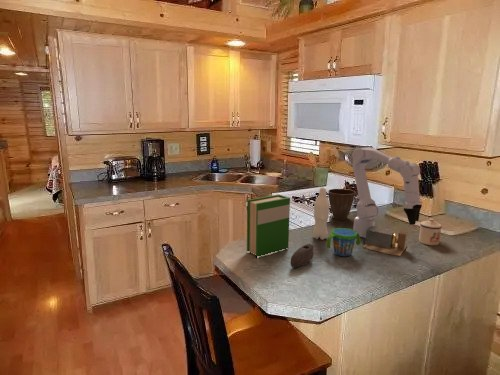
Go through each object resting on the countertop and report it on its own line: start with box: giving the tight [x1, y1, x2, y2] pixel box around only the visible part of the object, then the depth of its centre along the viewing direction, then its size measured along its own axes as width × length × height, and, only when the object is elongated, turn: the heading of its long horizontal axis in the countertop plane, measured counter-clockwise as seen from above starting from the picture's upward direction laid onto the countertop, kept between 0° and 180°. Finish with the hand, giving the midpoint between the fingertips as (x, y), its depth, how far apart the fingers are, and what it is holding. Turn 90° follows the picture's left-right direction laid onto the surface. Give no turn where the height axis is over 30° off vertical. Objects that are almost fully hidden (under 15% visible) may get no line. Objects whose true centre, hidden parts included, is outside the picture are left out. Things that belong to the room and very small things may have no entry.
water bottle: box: [312, 187, 330, 241], centre depth 167 cm, size 7×7×25 cm
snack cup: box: [326, 227, 361, 257], centre depth 150 cm, size 16×10×10 cm
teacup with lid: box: [418, 218, 443, 246], centre depth 164 cm, size 12×9×12 cm
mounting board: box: [362, 244, 408, 257], centre depth 159 cm, size 16×14×1 cm
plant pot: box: [327, 188, 356, 221], centre depth 199 cm, size 15×15×16 cm
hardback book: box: [246, 194, 291, 257], centre depth 150 cm, size 18×7×24 cm, turn 126°
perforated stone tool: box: [290, 243, 315, 269], centre depth 140 cm, size 15×5×7 cm, turn 138°
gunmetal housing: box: [364, 225, 396, 250], centre depth 159 cm, size 11×7×7 cm, turn 55°
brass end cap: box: [391, 230, 409, 250], centre depth 157 cm, size 15×6×8 cm, turn 55°
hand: (414, 222), depth 151 cm, fingers open, 7 cm apart
